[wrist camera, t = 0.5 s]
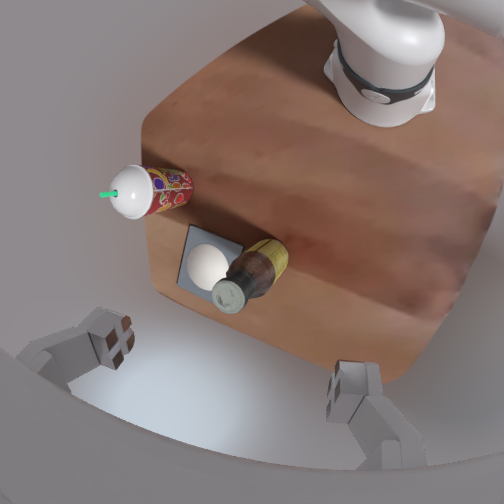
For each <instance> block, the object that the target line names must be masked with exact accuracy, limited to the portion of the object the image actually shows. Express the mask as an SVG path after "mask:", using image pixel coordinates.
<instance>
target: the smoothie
mask: <svg viewBox="0 0 504 504" xmlns="http://www.w3.org/2000/svg"><path fill="white" fill-rule="evenodd" d="M193 189H194V187H193V182H192V180H191V178H190V177H189V176H188V175H187V174H186V173H185V172H183V171H181V170H174V169H166V168H158V167H150V166H140V165H135V164H131V165H128V166H126V167H125V168H124V169H122V170H121V171H120V172H119V173H118V174H117V175H116V176H115V177H114V178H113V180H112V182H111V184H110V188H109V192H102V193H100V197H109V198H110V201H111V204H112V205H113V207H114V208H115V210H117V211H118V212H119V213H121V214H122V215H124V216H125V217H127V218H130V219H138V218H141V217H143V216H147V215H150V214H154V213H157V212H161V211H164V210H168V209H172V208H175V207H179V206H183V205H184V204H186V203H187V202H188V201H189V199H190V198H191V196H192V194H193Z"/></svg>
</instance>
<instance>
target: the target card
mask: <svg viewBox="0 0 504 504" xmlns="http://www.w3.org/2000/svg"><path fill="white" fill-rule="evenodd" d="M243 248H244V246H242V245H240V244H238V243H235V242H233V241H230V240H228V239H225V238H223V237H221V236H218V235H216V234H213V233H211V232H208V231H206V230H204V229H201V228H199V227H196V226H194V225H190V229H189V233H188V237H187V242H186V246H185V251H184V255H183V260H182V264H181V269H180V274H179V279H178V284H177V286H179V287H181V288H183V289H185V290H187V291H189V292H191V293H193V294H195V295H197V296H199V297H201V298H203V299H205V300H207V301H209V302H211V303H213V304H214V302H213V300H212V295H211V293H212V289H213V286H214V285H215V284H216V283H217V282H218V281H219V280H221V279H222V278H226V272H227V271H228V269H229V266H230V265H231V263H232V262H233V261H234V259H236V258H237V257H238V256H239V255H241V254H242V251H243Z"/></svg>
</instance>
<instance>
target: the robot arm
mask: <svg viewBox="0 0 504 504" xmlns="http://www.w3.org/2000/svg"><path fill="white" fill-rule="evenodd" d="M303 1H305V2H306V3H308V4H309V5H311V6H312V7H313V8H315V9H316V10H317V11H319V12H320V13H321V14H322V15H324V16H325V17H326V18H327V19H328V20H329V21H330V22H331V23H332V24H333V25H334V27H335V29H336V32H337V35H338V39H336V40H335V42H334V47H335V48H334V50H333V52H332V54H331V55H330V57H329V59H328V60H327V62H326V64H325V66H324V73H325V75H326V76H327V77H328V79H329V80H330V81H331V82H332V83H334V85H335V87H336V89H337V92H338V95H339V97H340V99H341V101H342V102H343V104H344V105H345V107H346V108H347V109H348V110H349V111H350V112H351V113H352V114H353V115H354V116H356V117H357V118H359V119H360V120H362V121H364V122H366V123H369V124H371V125H375V126H380V127H393V126H398V125H401V124H404V123H406V122H407V121H409V120H410V119H412V118H413V117H414V116H416V115H418V114H423V113H428V112H431V111H433V109H434V107H435V73H434V63H435V62H436V60H437V58H438V56H439V55H440V53H441V51H442V49H443V46H444V40H445V32H444V27H443V24H442V21H441V19H440V17H439V15H438V13H437V12H439V13H442V14H444V15H447V16H449V17H452V18H454V19H456V20H459V21H461V22H463V23H466V24H468V25H470V26H472V27H474V28H476V29H478V30H480V31H482V32H484V33H486V34H489V35H492V36H495V37H497V38H500V39H503V40H504V0H303ZM131 324H132V323H131V320H130V317H128V316H127V315H124V314H121V313H118V312H114V311H112V310H108V309H106V308H103V307H97V308H96V309H95V310H94V311H93V312H92V313H91V314H90V315H89V316H88V317H86V318H85V319H84V320H83V322H82V323H81V324H79V325H78V327H71V328H69V329H66V330H63V331H60V332H57V333H54V334H51V335H48V336H45V337H43V338H40V339H37V340H34V341H31V342H30V343H29V344H28V345H27V346H26V347H25V348H24V349H23V350H22V351H21V352H20V353H19V354H18V355H17V356H16V357H15V358H14V357H13V356H12V355H10V354H9V353H8V352H6V351H5V350H4V349H2V348H1V347H0V504H504V452H496V453H492V454H489V455H485V456H481V457H477V458H473V459H468V460H463V461H458V462H453V463H447V464H441V465H434V466H426V457H425V449H424V442H423V437H422V436H421V435H420V434H419V433H418V432H417V430H416V429H415V428H414V427H413V426H412V425H411V424H410V422H409V421H408V420H407V419H406V418H405V417H404V416H403V415H402V413H401V412H400V411H399V410H398V409H397V408H396V407H395V405H394V404H393V403H392V402H391V401H390V400H389V399H388V398H387V397H383V391H382V384H381V377H380V370H379V365H378V363H373V362H360V361H350V360H340V359H338V360H337V362H336V365H335V373H333V374H332V375H331V378H330V381H329V385H328V391H327V398H328V400H329V403H328V405H327V409H326V422H335V423H344V424H348V426H349V428H350V430H351V431H352V433H353V435H354V437H355V438H356V440H357V442H358V443H359V445H360V447H361V448H362V450H363V452H364V453H365V455H366V457H367V459H366V460H365V461H364V462H363V463H362V464H361V465H360V466H359V467H358V468H357V469H356V470H329V469H314V468H304V467H295V466H287V465H280V464H273V463H267V462H261V461H255V460H250V459H245V458H240V457H236V456H231V455H227V454H223V453H219V452H215V451H211V450H208V449H204V448H200V447H197V446H193V445H190V444H187V443H183V442H181V441H177V440H174V439H171V438H169V437H165V436H163V435H160V434H157V433H154V432H152V431H149V430H147V429H144V428H142V427H139V426H137V425H134V424H132V423H129V422H127V421H125V420H122V419H120V418H118V417H116V416H113V415H111V414H109V413H107V412H105V411H103V410H101V409H98V408H97V407H95V406H93V405H91V404H88V403H87V402H85V401H83V400H81V399H79V398H77V397H76V396H74V395H72V394H71V390H70V389H69V387H68V385H67V383H68V382H70V381H72V380H74V379H76V378H78V377H79V376H81V375H83V374H85V373H87V372H89V371H90V370H92V369H94V368H96V367H98V366H99V365H103V366H106V367H109V368H111V369H114V370H117V369H118V367H119V366H120V364H121V363H122V362H123V360H124V356H123V355H125V354H128V353H129V352H130V351H131V349H132V348H133V345H134V340H135V338H134V337H135V336H134V332H133V331H132V329H131V328H130V325H131Z"/></svg>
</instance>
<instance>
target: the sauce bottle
mask: <svg viewBox="0 0 504 504" xmlns="http://www.w3.org/2000/svg"><path fill="white" fill-rule="evenodd" d="M288 260H289V257H288V251H287V249H286V246H285V245H284V244H283V243H281V242H280V241H278V240H275V239H266V240H262V241H260V242H258V243H257V244H255V245H254V246H252V247H251V248H249V249H248V250H246V251H245V252H243V253H242V254H241V255H239V256H238V257H237V258H236V259H234V261H233V262H232V263H231V265H230V266H229V269H228V271H227V272H226V278H222V279H221V280H219V281H218V282H217V283H216V284H215V285H214V286H213V289H212V293H211V295H212V300H213V302H214V304H215V305H216V307H217V308H218V309H220V310H221V311H222V312H224V313H227V314H234V313H237V312H239V311H241V310H242V309H243V308H244V307H245V306H246V304H247V302H248V299H252V298H257V297H260V296H262V295H264V294H265V293H267V292H268V291H269V289H270V288H271V287H272V285H273V284H274V283H275V281H276V280H277V279H278V277H279V276H280V275H281V273H282V272H283V271H284V269H285V268H286V266H287V263H288Z"/></svg>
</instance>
